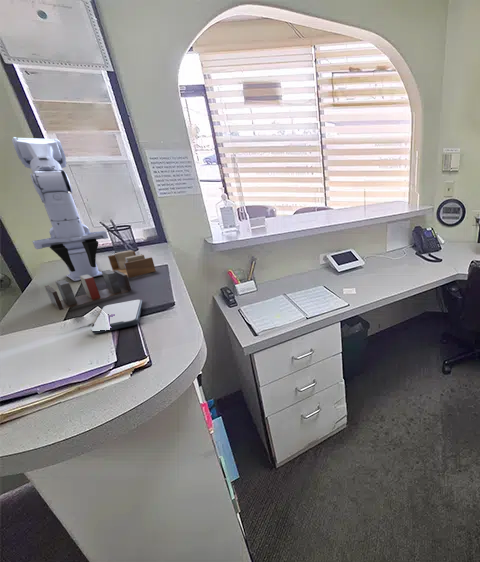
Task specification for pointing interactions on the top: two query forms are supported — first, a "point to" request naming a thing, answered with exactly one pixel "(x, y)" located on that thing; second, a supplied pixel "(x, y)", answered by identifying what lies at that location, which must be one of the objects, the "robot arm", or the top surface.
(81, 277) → the red boxy piece
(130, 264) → the wooden desk organizer
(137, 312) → the phone case
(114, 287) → the grey book rack
